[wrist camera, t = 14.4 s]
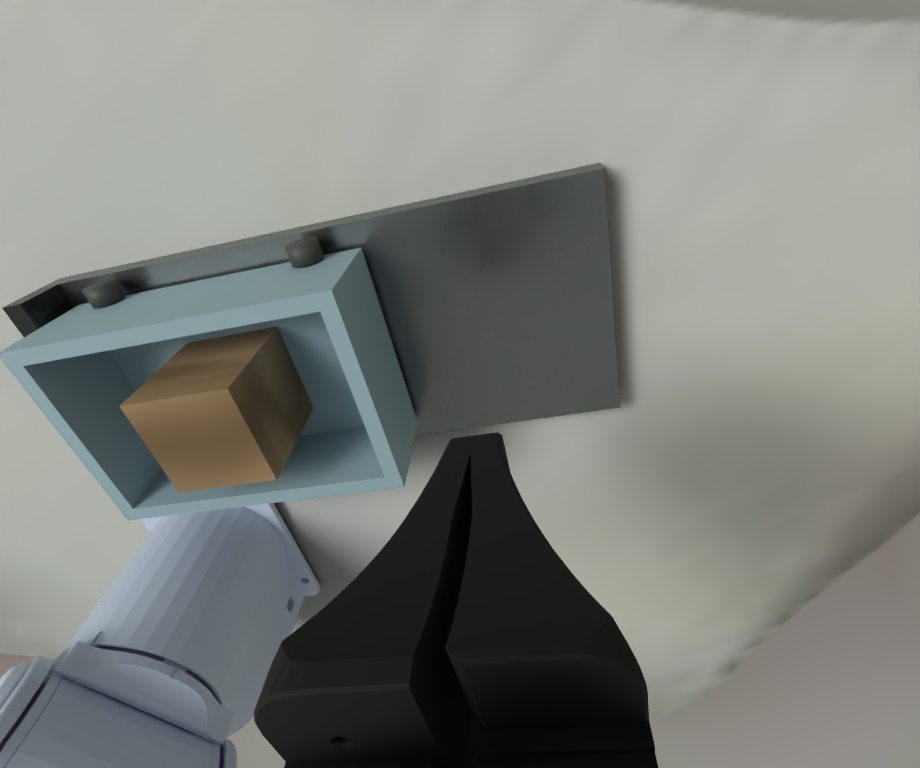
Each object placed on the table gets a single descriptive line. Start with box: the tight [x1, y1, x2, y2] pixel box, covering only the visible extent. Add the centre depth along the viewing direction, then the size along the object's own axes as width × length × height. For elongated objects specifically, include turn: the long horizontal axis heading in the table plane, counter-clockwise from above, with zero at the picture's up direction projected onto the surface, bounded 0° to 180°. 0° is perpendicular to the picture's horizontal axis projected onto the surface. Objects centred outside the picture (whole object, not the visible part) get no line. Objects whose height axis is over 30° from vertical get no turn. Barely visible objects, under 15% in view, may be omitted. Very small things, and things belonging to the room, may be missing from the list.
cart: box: [0, 237, 418, 520], centre depth 20 cm, size 10×12×4 cm
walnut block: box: [119, 327, 314, 492], centre depth 20 cm, size 4×4×4 cm
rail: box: [3, 163, 620, 435], centre depth 21 cm, size 10×22×3 cm, turn 102°
